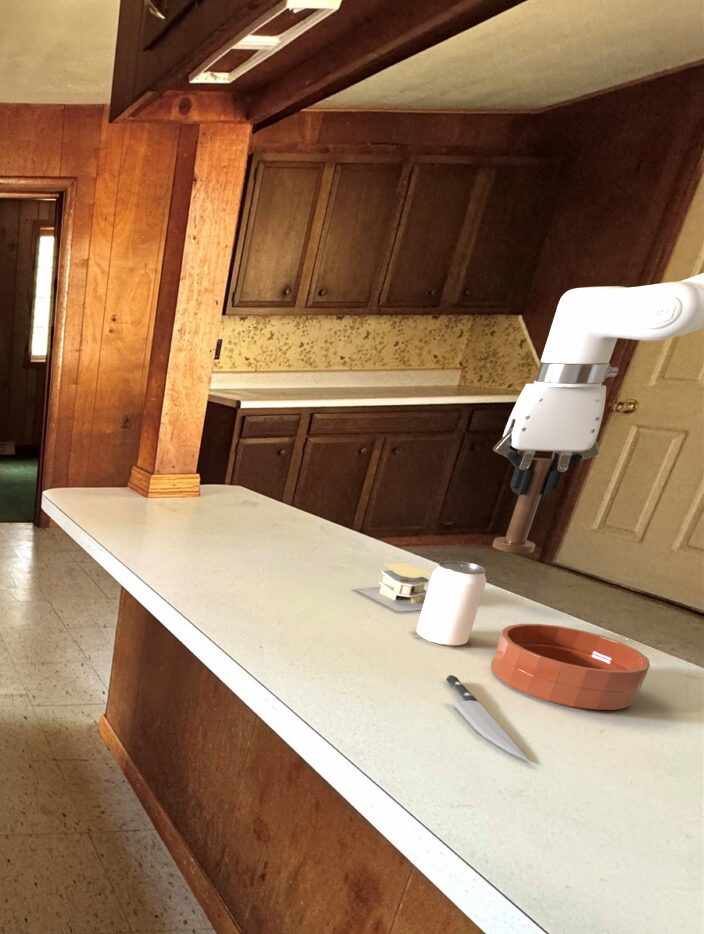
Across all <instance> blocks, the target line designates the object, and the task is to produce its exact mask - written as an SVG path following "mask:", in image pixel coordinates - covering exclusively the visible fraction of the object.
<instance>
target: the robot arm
mask: <svg viewBox="0 0 704 934" xmlns="http://www.w3.org/2000/svg"><path fill="white" fill-rule="evenodd" d="M559 299H560V300H559V301H558V304H557V307H556V311H555V314H554V317H553V319H552V320H553V321H552V324H551V327H550V330H549V334H548V337H547V340H546V343H545V346H544V349H543V352H542V355H541V358H540V362H539V366H538V368H537V372H536V375H535V378H534V382H533V383H526V384H525V386H524V387H523V389H522V391H521V392H520V394H519V396H518V399H517V400H516V402H515V405H514V407H513V408H512V411H511V413H510V415H509V417H508V421H507V423H506V425H505V428H504V431H503V434H502V438H501V439H500V440H499V441H498V442H497V443H496V444H495V445H494V446H493V448H492V451H494V452H495V453H497V454H499V455H501V456H503V457H505V458H507V459H508V461H510V463H511V464H512V466H514V472H513V475H512V478H511V480H510V483H509V486H510V488H511V491H512V492H513V493H514V494H516V495H518V496H519V495H523V494H525V492H526V489H527V486H528V483H529V480H530V477H531V474H532V471H530V470H529V469H530V464H531V462H532V459H533V458H535V454H536V452H552V455H551V458H550V459H551V460H553V462H552V465H551V468H550V471H549V474H548V477H547V480H546V482H545V485H544V488H543V491H542V494H541V496H544V497H551V496H552V493H553V491H555V490H556V489H557V488H558V486H559V482H560V479H561V476H562V473H564V472H566V471H567V470H568V468H570V467H571V466H573V465H575V464H577V463H578V462H580V461H582V460H583V461H584V460H587V459H590V458H593V457H596V456H599V454H600V449H599V446H598V445H599V444H598V442H597V437H598V436H599V435H598V434H599V432H600V429H601V424H602V420H603V417H604V411H605V405H606V398H607V397H606V396H607V386H606V385H605V384H603V383H604V382H605V381H606V378H607V379H608V378H612V377H614V378H615V377H616V376H617V375H618V373H619V367H616V366H615V367H613V366H611V363H610V361H611V358H612V355H613V353H614V349H615V346H616V344H617V342H618V339H625V340H634V341H635V340H636V341H644V342H659V341H665V340H669V339H673V338H677V337H681V336H685V335H688V334H691V333H693V332H697V331H699V330H704V272H702V273H700V274H697V275H694V276H691V277H688V278H686V279H683V280H679V281H668V282H661V283H655V284H647V285H641V286H640V285H639V286H631V287H626V286H619V285H615V286H614V285H611V286H606V285H605V286H586V287H576V288H571V289H569V290H567V291H566V292H565V293H563V295H561V297H560V298H559ZM510 446H511V447H512V448H514V449H516V450H517V451H514V450H513V449H511V448H510Z"/></svg>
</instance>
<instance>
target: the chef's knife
mask: <svg viewBox="0 0 704 934" xmlns="http://www.w3.org/2000/svg"><path fill="white" fill-rule="evenodd" d="M445 680H446V681H447V683H448V684H450V685H452V686H453V687H454V688H455V689H456V690H457V691H458V692H459V694H460V695H461V696H462V698H463V699H464V700H462V701H454V702H451V704H452V705H453V706H454V707H455V709H456V710H457V711H458V712H459V713H460V715H462V716H463V718H464V719H465V720H466V721H467V722H468V723H469V724H470V726H471V727H472V728H473V729H474V730H475V731H476V732H478V733H479V734H480V735H481V736H482V737H483V738H485V739H487V740H489V741H490V742H492V743H493V744H495V745H496V746H498V747H500V748H501V749H503V750H504V751H506V752H507V753H510V754H511V755H514V756H515V757H518V758H520V759H522V760H525V761H526V762H527V761H528V762H530V760H529V759H528V758H527V756H526V755H525V754H524V752H523V751H522V750H521V749H520V748H519V746H518V745H517V744H516V743H515V742H514V740H512V738H511V737H510V736H509V735H508V734H507V733H506V731H505V730H504V729H503V728H502V727H501V726H500V725H499V723H498V722H497V721H496V720H495V718H493V716H491V714H490V713H489V712H488V711H487V709H485V707H484V706H483V705H482V704H481V703H480V702H479V701H478V699H477V698H476V697H475V696H474V695H473V694H471V692H470V691H469V690H468V688H466V686H465V685H463V683H462V682H461V681H460V680H459V678H458V677H457V676H455V675H453V674H451V675H448V676H447V677H446V679H445Z"/></svg>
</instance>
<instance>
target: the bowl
mask: <svg viewBox="0 0 704 934" xmlns="http://www.w3.org/2000/svg"><path fill="white" fill-rule="evenodd" d="M650 666H651V664H650V661H649V658H648V657H647V656H645V654H643V653H641V651H639V650H637V649H635V648H633V647H632V646H630V645H628V644H625V643H623V642H621V641H618V640H616V639H613V638H610V637H607V636H603V635H601V634H597V633H594V632H589V631H585V630H582V629H577V628H573V627H566V626H561V625H553V624H545V623H518V624H517V623H516V624H512V625H508V626H506V627H504V628H503V629H502V630H501V633H500V635H499V639H498V642H497V645H496V648H495V650H494V654H493V657H492V659H491V663H490V670H491V672H493V674H494V675H495V676H496V677H497V678H498V679H500V680H501V681H503V682H504V683H506V684H507V685H509V686H511V687H512V688H514V689H516V690H518V691H520V692H522V693H524V694H527V695H529V696H532V697H534V698H537V699H541V700H543V701H547V702H550V703H553V704H558V705H561V706H566V707H571V708H577V709H584V710H607V711H608V710H609V711H610V710H611V711H612V710H613V711H615V710H619V709H625V708H630V706H631V705H633V703H635V701H636V699H637V697H638V694H639V692H640V690H641V688H642V685H643V682H644V680H645V678H646V676H647V674H648V671H649V669H650Z"/></svg>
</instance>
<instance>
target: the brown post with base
mask: <svg viewBox="0 0 704 934" xmlns="http://www.w3.org/2000/svg"><path fill="white" fill-rule="evenodd" d="M552 462H553V460H551V458H544V457H533V459H532V462H531V464H530V469H529V470H530V471H532V474H531V477H530V480H529V483H528V486H527V489H526V492H525V494H523V495H518V497H517V500H516V504H515V506H514V509H513V512H512V516H511V518H510V522H509V524H508V528H507V531H506V534H505V536H499V537H497V536H496V537H495V538H494V539H493V541H492V545H491V546H492V547H493V548H494V549H496V550H499V551H503V552H507V553H513V554H532V553H533V552H534V551H535V547H536V543H535V542H534V541H530V540H527V538H528V535H529V532H530V530H531V527H532V524H533V521H534V517H535V515H536V512H537V509H538V506H539V503H540V500H541V497H542V491H543V488H544V485H545V482H546V480H547V477H548V474H549V471H550V468H551V465H552Z"/></svg>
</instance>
